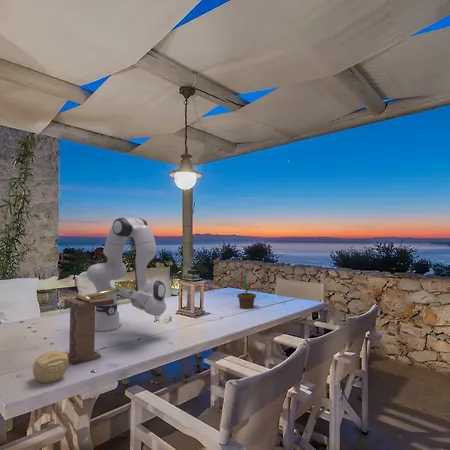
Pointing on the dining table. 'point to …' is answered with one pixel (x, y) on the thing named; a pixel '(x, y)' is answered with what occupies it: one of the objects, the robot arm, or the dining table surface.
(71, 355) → the walnut stand
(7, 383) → the dining table surface
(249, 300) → the flowerpot
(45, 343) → the dining table surface
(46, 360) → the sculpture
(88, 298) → the brass T-key
